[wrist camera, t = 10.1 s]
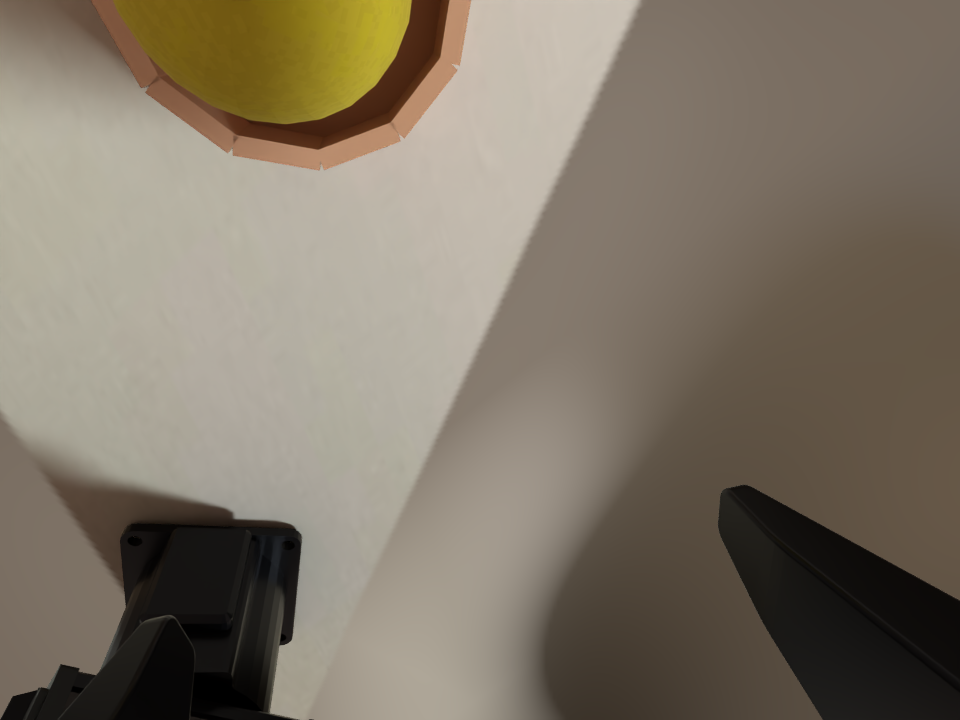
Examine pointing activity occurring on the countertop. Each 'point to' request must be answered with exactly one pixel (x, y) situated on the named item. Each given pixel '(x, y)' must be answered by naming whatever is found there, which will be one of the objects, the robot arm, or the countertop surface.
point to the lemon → (271, 51)
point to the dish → (341, 134)
